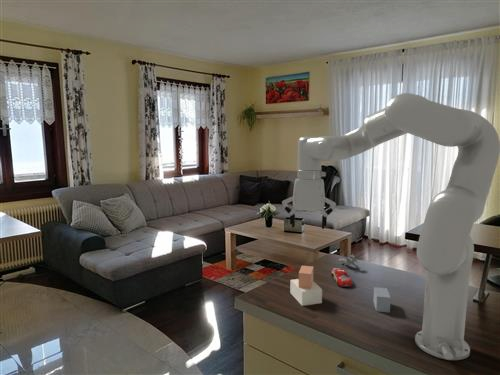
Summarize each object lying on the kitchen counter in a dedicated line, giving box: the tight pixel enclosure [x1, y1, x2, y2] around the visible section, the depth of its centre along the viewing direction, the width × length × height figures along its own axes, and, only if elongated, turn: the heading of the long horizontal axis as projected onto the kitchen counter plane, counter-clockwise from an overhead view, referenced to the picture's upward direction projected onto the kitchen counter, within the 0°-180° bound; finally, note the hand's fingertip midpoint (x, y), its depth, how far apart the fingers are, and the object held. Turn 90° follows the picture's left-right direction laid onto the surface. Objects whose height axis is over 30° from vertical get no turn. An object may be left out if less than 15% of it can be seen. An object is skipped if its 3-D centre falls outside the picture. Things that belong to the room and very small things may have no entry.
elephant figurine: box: [338, 252, 360, 269], centre depth 151 cm, size 10×6×9 cm
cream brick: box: [289, 278, 323, 307], centre depth 122 cm, size 10×7×5 cm
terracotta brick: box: [298, 265, 314, 289], centre depth 122 cm, size 7×4×5 cm, turn 164°
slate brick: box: [372, 286, 392, 313], centre depth 116 cm, size 7×4×5 cm, turn 168°
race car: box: [331, 267, 353, 288], centre depth 137 cm, size 13×5×4 cm, turn 1°
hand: (308, 227), depth 119 cm, fingers open, 9 cm apart
